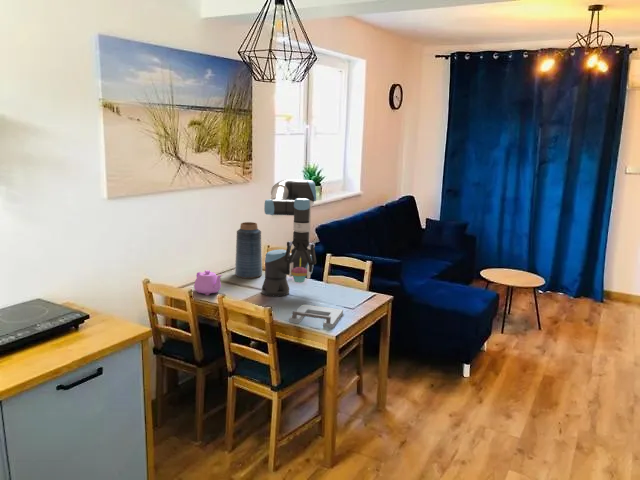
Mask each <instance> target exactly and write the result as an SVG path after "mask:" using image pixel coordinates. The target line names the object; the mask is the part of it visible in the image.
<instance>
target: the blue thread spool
mask: <svg viewBox="0 0 640 480" xmlns="http://www.w3.org/2000/svg"><path fill="white" fill-rule="evenodd" d="M235 243H236V245H235V264H234V265H235V266H234V273H235V276H236V277H238V278H242V279H254V278H255V279H256V278H259V277H261V276H262V275H263V256H262V253H263V251H262V249H263V248H262V231H261V230H260V229H259V228H258V223H256V222H252V221H246V222H241V223H240V228H238V229H237V230H236V242H235Z"/></svg>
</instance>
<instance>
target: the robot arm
mask: <svg viewBox="0 0 640 480" xmlns="http://www.w3.org/2000/svg"><path fill="white" fill-rule="evenodd" d="M316 189H317V187H316V183H315V181H313V180H310V179H289V178H288V179H283V180H280V181H278V182H277V183H275V184H274V185H272V187H271V190H270V195H271V196H270V198H269V199H265V200H264V214H265V215H269V216H293V234H292V235H293V237H292V240H291V241H289V240H288V241H287V242H286V249H282V248H281V249H272V250H270V251H268V252H266V253H265V258H264V263H265V267H264V280H263V283H262V287H261V293H262V295H264V296H268V297H285V296H287V295H289V294H290V286H289V283H288V280H287V275H288V276H289V277H290V278H293V276H292V275H291V270H292V269H293V268H295V267H300V256H301V267H303V268H306V269H307V276H306V279H307V280H309V279H311V275H312V274H313V271H314V265H316V264H317V257H316V250H315V247H316V243H311V217H312V206H313V205H315V204H314V203H315V202H316V201H317V190H316ZM292 246H293V248H292Z"/></svg>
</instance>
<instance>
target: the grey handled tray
mask: <svg viewBox="0 0 640 480" xmlns="http://www.w3.org/2000/svg"><path fill="white" fill-rule="evenodd" d="M291 313H292V315H291V316H290V317H289V318H288V322H289V323H294V324H299V323H300V322H301V321H302V320H303V319H304V318H305V317H309V318H314V319H323V320H324V321H323V322H322V327H323V328H329V329H333V328H334V326H335V325H336V324H337V322H338V321H339V320H340V319H341V317H342V316H343V315H344V309H340V308H332V307H325V306H319V305H318V306H316V305H313V304H311V305H310V304H301V306H299V307H298V308H297V309H296V310H293V311H292V312H291Z"/></svg>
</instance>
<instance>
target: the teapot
mask: <svg viewBox="0 0 640 480" xmlns="http://www.w3.org/2000/svg"><path fill="white" fill-rule="evenodd" d="M195 276H196V279H195V280H194V284H193V288H194V290H195V291H196V292H197V293H198V294H204V296H210V294H217V293H218V292H219V291H220V290H221V287H222V283H221V277H222V276H223V275H222V274H220V275H217V274H216V273H215V272H214V271H211V270H209V269H207V270H204V271H203V272H201V271H199V272H196V275H195Z"/></svg>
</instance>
